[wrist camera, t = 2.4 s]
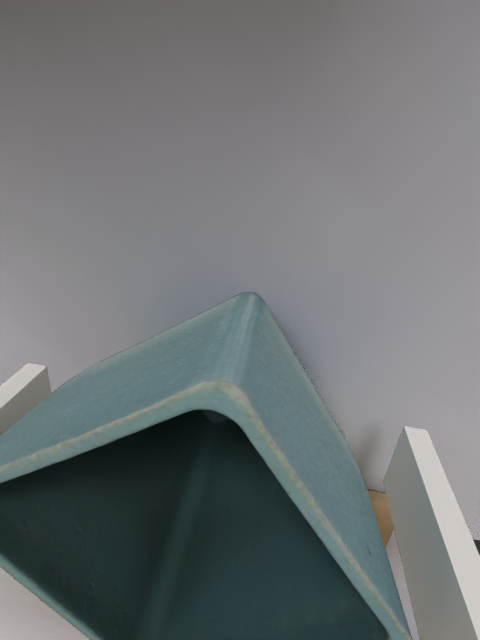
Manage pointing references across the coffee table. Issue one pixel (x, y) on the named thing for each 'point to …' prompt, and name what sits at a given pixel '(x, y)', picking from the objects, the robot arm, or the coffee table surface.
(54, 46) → the coffee table surface
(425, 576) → the robot arm
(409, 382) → the coffee table surface
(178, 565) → the flower pot
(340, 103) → the coffee table surface
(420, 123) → the coffee table surface
